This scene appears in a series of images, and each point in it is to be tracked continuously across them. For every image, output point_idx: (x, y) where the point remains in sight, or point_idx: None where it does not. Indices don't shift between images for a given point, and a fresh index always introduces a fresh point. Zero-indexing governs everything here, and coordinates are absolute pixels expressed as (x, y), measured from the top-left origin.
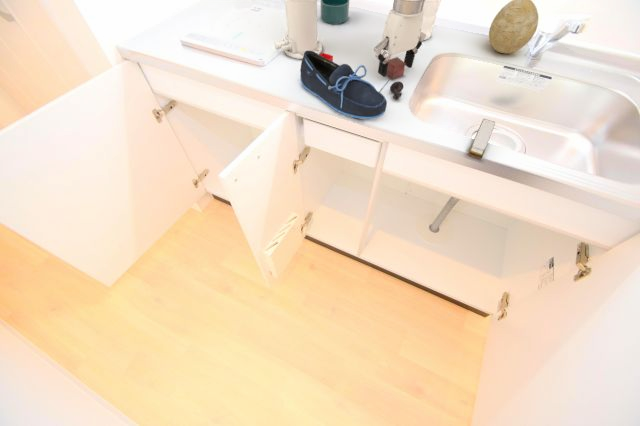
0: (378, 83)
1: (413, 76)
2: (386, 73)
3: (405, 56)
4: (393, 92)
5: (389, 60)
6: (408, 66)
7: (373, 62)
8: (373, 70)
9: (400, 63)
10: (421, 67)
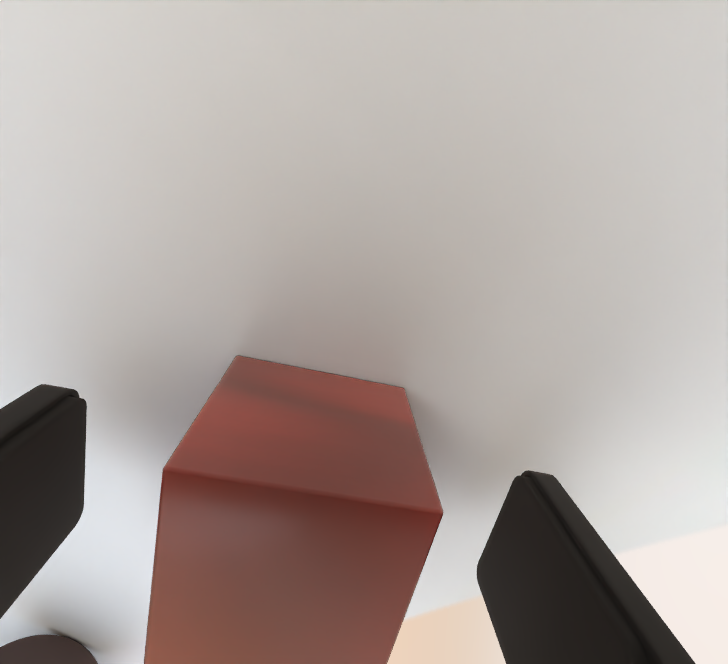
0: None
1: (445, 575)
2: (55, 548)
3: (574, 566)
4: (39, 648)
5: (215, 501)
6: (484, 563)
7: (340, 10)
8: (165, 195)
9: (301, 659)
10: (651, 530)
